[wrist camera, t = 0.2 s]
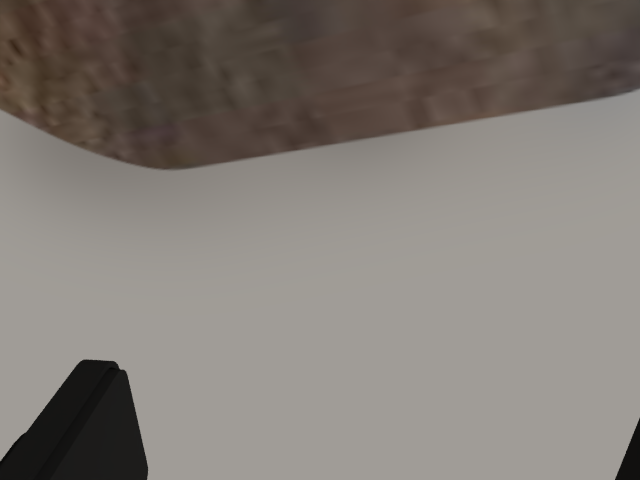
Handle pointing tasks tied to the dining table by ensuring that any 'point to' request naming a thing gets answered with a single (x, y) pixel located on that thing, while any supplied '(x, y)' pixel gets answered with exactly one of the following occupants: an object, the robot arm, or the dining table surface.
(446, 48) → the dining table surface
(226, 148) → the dining table surface
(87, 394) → the robot arm
